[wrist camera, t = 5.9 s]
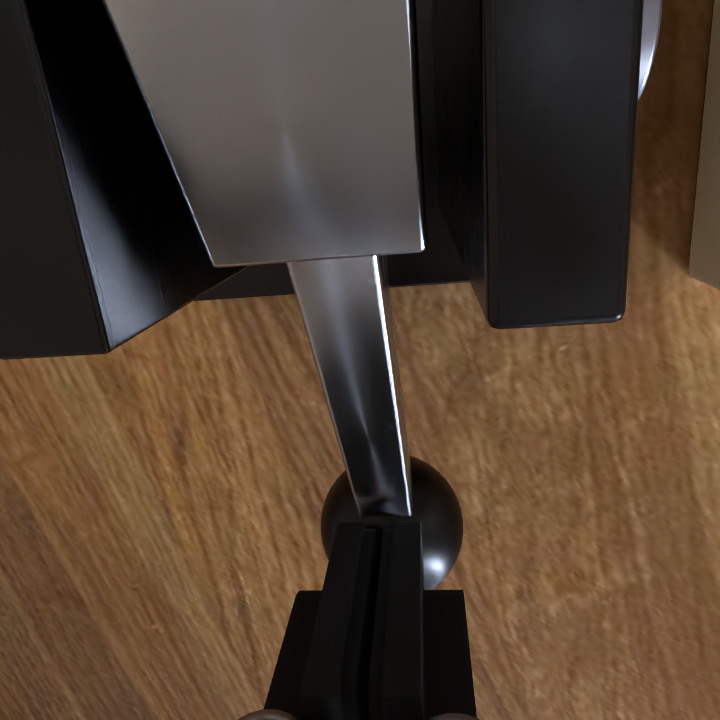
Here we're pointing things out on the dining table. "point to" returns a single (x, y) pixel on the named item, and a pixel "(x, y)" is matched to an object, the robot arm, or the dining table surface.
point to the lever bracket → (440, 158)
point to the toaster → (709, 174)
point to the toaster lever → (309, 203)
